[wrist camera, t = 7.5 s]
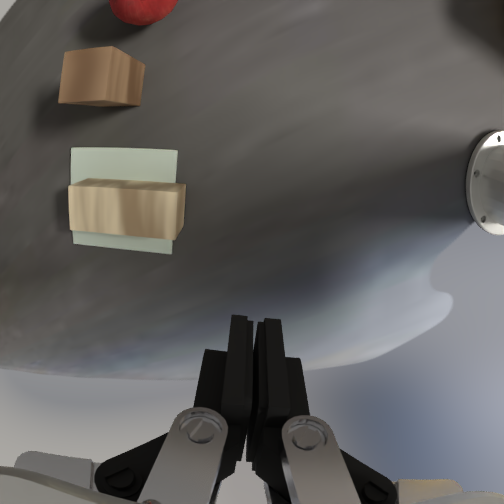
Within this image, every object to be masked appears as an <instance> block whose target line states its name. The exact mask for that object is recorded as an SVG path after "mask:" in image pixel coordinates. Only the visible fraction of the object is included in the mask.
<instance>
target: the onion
mask: <svg viewBox="0 0 504 504" xmlns="http://www.w3.org/2000/svg"><path fill="white" fill-rule="evenodd" d="M177 1H178V0H109V3H110V6H111V9H112V11H113V13H114V15H115V16H116V17H118V18H119V19H120V20H122V21H123V22H125V23H129V24H134V25H138V26H140V25H149V24H152V23H155V22H157V21H159V20H161V19H163V18H164V17H165V16H166V15H168V14H169V13H170V12H171V11H172V10H173V8H174V6H175V5H176V3H177Z"/></svg>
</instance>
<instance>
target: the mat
mask: <svg viewBox="0 0 504 504" xmlns="http://www.w3.org/2000/svg"><path fill="white" fill-rule="evenodd" d="M177 155H178V150H166V149H145V148H108V147H75V148H71V185H72V184H74V183H77V182H79V181H82V180H84V179H87V178H98V179H120V180H138V181H154V182H168V183H175V182H176V168H177ZM172 242H173V240H167V239H157V238H147V237H137V236H127V235H117V234H107V233H97V232H86V231H76V230H73V244H81V245H90V246H99V247H108V248H117V249H126V250H136V251H145V252H154V253H164V254H172Z"/></svg>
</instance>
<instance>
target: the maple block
mask: <svg viewBox="0 0 504 504" xmlns="http://www.w3.org/2000/svg"><path fill="white" fill-rule="evenodd" d="M185 193H186V184H181V183H168V182H154V181H138V180H120V179H98V178H87V179H84V180H82V181H79V182H77V183H74V184H72V185H69V186H68V195H69V220H70V230H76V231H86V232H97V233H107V234H117V235H127V236H137V237H147V238H157V239H167V240H176V238H177V236H178V234H179V233H180V231H181V229H182V228H183V226H184V209H185Z"/></svg>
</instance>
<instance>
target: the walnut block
mask: <svg viewBox="0 0 504 504" xmlns="http://www.w3.org/2000/svg"><path fill="white" fill-rule="evenodd" d="M144 70H145V64H143V63H141V62H139V61H138V60H136V59H134V58H133V57H131V56H129V55H127V54H126V53H124V52H122V51H120V50H119V49H117V48H115V47H113V46H108V47H98V48H89V49H82V50H75V51H68V52H65V55H64V61H63V68H62V75H61V83H60V91H59V101H58V103H63V104H78V105H90V106H101V107H103V106H140V102H141V93H142V85H143V77H144Z"/></svg>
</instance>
